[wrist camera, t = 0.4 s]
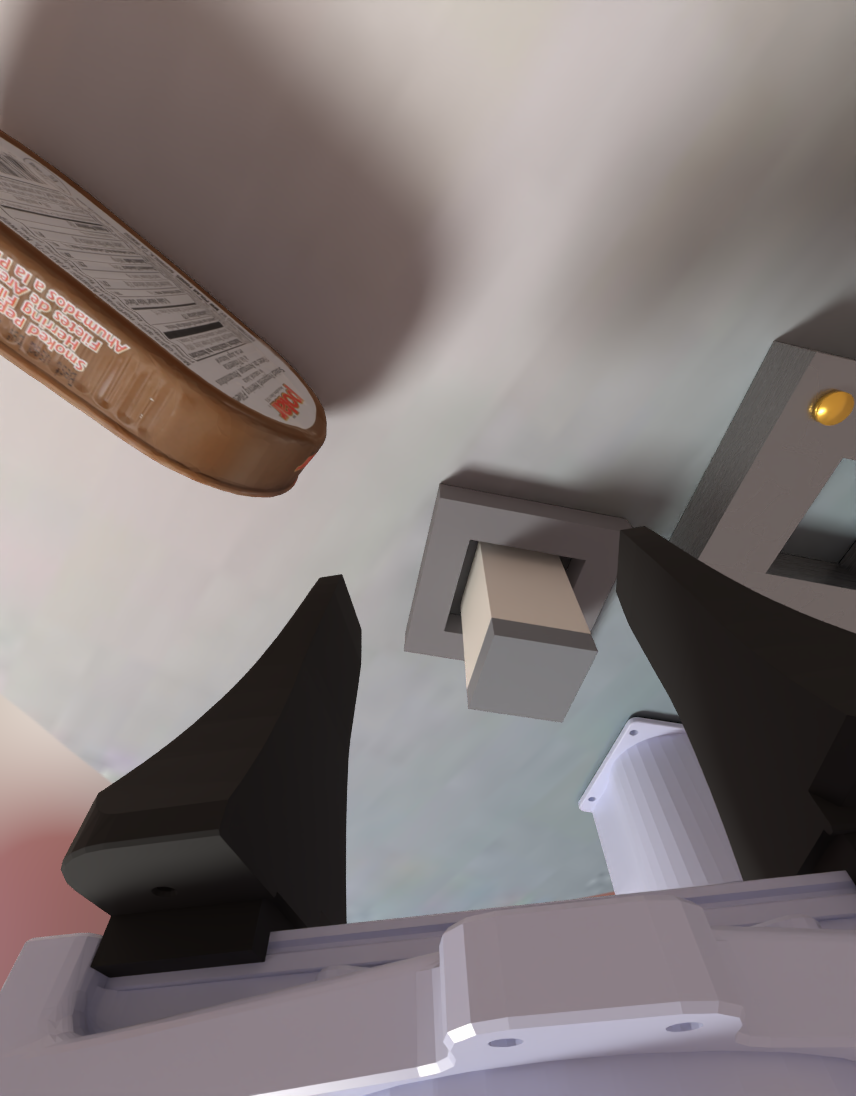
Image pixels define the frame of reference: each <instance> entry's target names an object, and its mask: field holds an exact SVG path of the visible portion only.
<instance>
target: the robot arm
mask: <svg viewBox="0 0 856 1096" xmlns="http://www.w3.org/2000/svg"><path fill="white" fill-rule="evenodd" d="M616 593H617V596H618V598H619V601H620V603H621V606H622V609H623V611H624V614H625V616H626V619H627V621H628V624H629V626H630V628H631V629H632V631H633V633H634V635H635V637H636V639H637V640H638V642H639V644H640V646H641V648H642V649H643V651H644V653H645V655H646V657H647V658H648V660H649V662H650V664H651V665H652V667H653V669H654V671H655V672H656V674H657V676H658V678H659V679H660V681H661V683H662V685H663V687H664V688H665V690H666V692H667V694H668V695H669V697H670V699H671V701H672V703H673V705H674V707H675V709H676V711H677V713H678V715H679V717H680V720H681V722H682V724H679V723H673V722H666V721H660V720H653V719H646V718H640V717H634V718H631V719H629V720H628V721H627V723H626V725H625V726H624V728H623V730H622V731H621V733H620V735H619V736H618V738H617V740H616V741H615V743H614V745H613V746H612V748H611V749H610V751H609V753H608V754H607V756H606V758H605V759H604V761H603V763H602V764H601V766H600V768H599V769H598V771H597V772H596V774H595V776H594V777H593V779H592V781H591V782H590V784H589V786H588V787H587V789H586V791H585V792H584V794H583V796H582V797H581V799H580V800H579V803H578V804H579V808H580V809H581V810H582V811H586V812H592V813H593V816H594V820H595V823H596V827H597V830H598V834H599V838H600V841H601V845H602V848H603V852H604V855H605V859H606V863H607V866H608V870H609V873H610V877H611V880H612V884H613V887H614V891H615V895H610V896H601V897H592V898H582V899H573V900H564V901H554V902H545V903H536V904H527V905H517V906H508V907H499V908H489V909H480V910H471V911H461V912H452V913H443V914H433V915H424V916H415V917H405V918H396V919H387V920H377V921H368V922H359V923H349V924H347V921H346V812H347V780H348V757H349V747H350V738H351V731H352V724H353V717H354V711H355V704H356V697H357V690H358V683H359V676H360V668H361V627H360V624H359V621H358V618H357V616H356V613H355V610H354V607H353V604H352V601H351V598H350V595H349V593H348V590H347V587H346V584H345V581H344V578H343V575H342V574H340V575H334V576H328V577H322V578H319V579H318V581H317V582H316V584H315V585H314V586H313V588H312V589H311V591H310V592H309V593H308V595H307V596H306V598H305V599H304V601H303V602H302V603H301V605H300V606H299V608H298V609H297V611H296V612H295V613H294V615H293V616H292V618H291V619H290V620H289V622H288V623H287V624H286V626H285V627H284V628H283V630H282V631H281V633H280V634H279V635H278V637H277V638H276V639H275V640H274V641H273V643H272V644H271V645H270V646H269V648H268V649H267V650H266V651H265V653H264V654H263V655H262V656H261V658H260V659H259V660H258V661H257V662H256V663H255V665H254V666H253V667H252V668H251V669H250V670H249V671H248V672H247V673H246V674H245V676H244V677H243V678H242V679H241V680H240V681H239V682H238V683H237V684H236V685H235V686H234V687H233V688H232V689H231V690H230V691H229V692H228V693H227V694H226V695H225V696H224V697H223V698H222V699H221V700H219V701H218V702H217V703H216V704H215V705H214V706H213V707H212V708H211V709H209V710H208V711H207V712H206V713H205V714H204V715H203V716H202V717H201V718H199V719H198V720H197V721H196V722H195V723H194V724H193V725H191V726H190V727H189V728H188V729H187V730H185V731H184V732H183V733H182V734H180V735H179V736H178V737H177V738H176V739H174V740H173V741H172V742H170V743H169V744H168V745H167V746H165V747H164V748H163V749H161V750H160V751H159V752H157V753H156V754H155V755H153V756H152V757H151V758H149V759H148V760H147V761H145V762H144V763H142V764H141V765H139V766H138V767H136V768H135V769H134V770H132V771H131V772H129V773H128V774H126V775H125V776H123V777H122V778H120V779H119V780H117V781H116V782H115V783H113V784H112V785H110V786H109V787H107V788H106V789H104V790H103V791H101V792H99V793H98V795H97V797H96V799H95V801H94V802H93V804H92V806H91V808H90V810H89V812H88V814H87V816H86V818H85V819H84V821H83V823H82V825H81V827H80V829H79V831H78V833H77V835H76V837H75V838H74V840H73V842H72V844H71V846H70V848H69V850H68V852H67V854H66V856H65V858H64V860H63V863H62V867H61V871H62V873H63V875H64V878H65V880H66V882H67V883H68V884H69V885H70V886H71V887H72V888H73V889H74V890H75V891H77V892H78V893H79V894H81V895H82V896H84V897H85V898H86V899H88V900H89V901H91V902H92V903H94V904H95V905H96V906H98V907H99V908H101V909H102V910H103V911H105V912H107V913H108V914H109V915H111V918H110V920H109V923H108V925H107V928H106V930H105V932H104V935H103V936H102V935H98V934H93V933H75V934H66V935H57V936H49V937H40V938H32V939H30V940H28V941H27V942H26V943H25V945H24V947H23V949H22V950H21V952H20V955H19V956H18V958H17V960H16V962H15V964H14V966H13V968H12V970H11V972H10V974H9V976H8V978H7V980H6V981H5V983H4V985H3V987H2V989H1V991H0V1096H856V633H853V632H851V631H848V630H845V629H843V628H840V627H837V626H834V625H832V624H829V623H826V622H824V621H821V620H818V619H816V618H813V617H811V616H808V615H806V614H803V613H801V612H799V611H796V610H794V609H792V608H790V607H788V606H785V605H783V604H781V603H779V602H776V601H774V600H772V599H770V598H768V597H766V596H763V595H761V594H759V593H757V592H755V591H753V590H751V589H750V588H748V587H746V586H744V585H742V584H740V583H738V582H736V581H734V580H733V579H731V578H729V577H727V576H725V575H724V574H722V573H720V572H718V571H716V570H715V569H713V568H711V567H710V566H708V565H706V564H705V563H703V562H701V561H700V560H698V559H696V558H695V557H693V556H691V555H690V554H688V553H687V552H685V551H683V550H682V549H680V548H679V547H677V546H676V545H674V544H672V543H671V542H669V541H668V540H666V539H665V538H663V537H661V536H660V535H658V534H657V533H655V532H653V531H652V530H650V529H648V528H647V527H645V526H643V527H637V528H630V529H624V530H620V537H619V553H618V568H617V584H616Z"/></svg>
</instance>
